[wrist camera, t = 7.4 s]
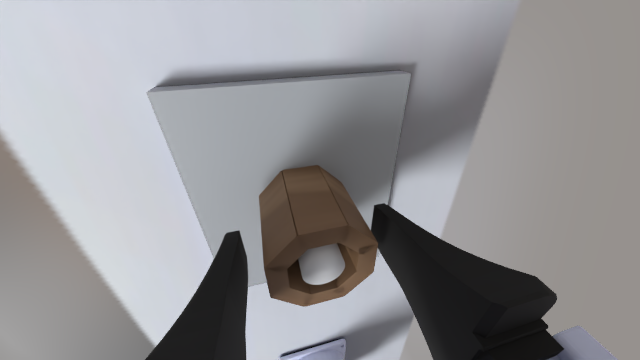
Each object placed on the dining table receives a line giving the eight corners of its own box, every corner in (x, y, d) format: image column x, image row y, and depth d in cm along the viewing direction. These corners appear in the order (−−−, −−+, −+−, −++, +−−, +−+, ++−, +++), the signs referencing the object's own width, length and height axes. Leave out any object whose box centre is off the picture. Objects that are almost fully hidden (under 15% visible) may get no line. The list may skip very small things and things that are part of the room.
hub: (340, 224, 17) (370, 289, 12) (267, 238, 16) (274, 314, 11) (342, 161, 14) (382, 218, 10) (254, 174, 13) (257, 243, 9)
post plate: (373, 247, 20) (412, 316, 16) (228, 279, 18) (221, 373, 13) (400, 70, 13) (495, 98, 8) (154, 87, 10) (72, 141, 6)
